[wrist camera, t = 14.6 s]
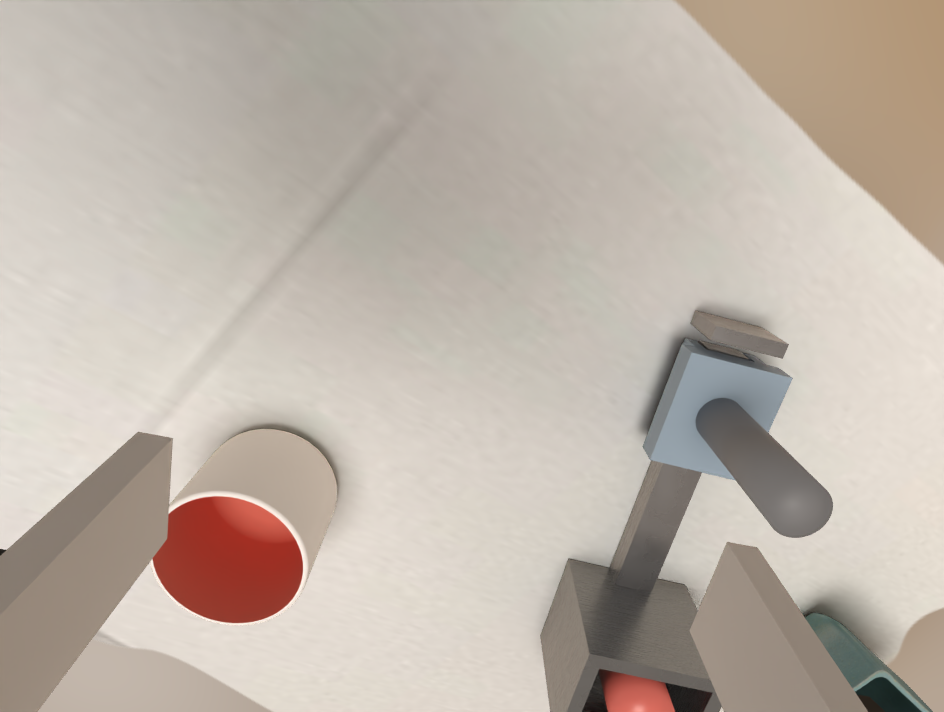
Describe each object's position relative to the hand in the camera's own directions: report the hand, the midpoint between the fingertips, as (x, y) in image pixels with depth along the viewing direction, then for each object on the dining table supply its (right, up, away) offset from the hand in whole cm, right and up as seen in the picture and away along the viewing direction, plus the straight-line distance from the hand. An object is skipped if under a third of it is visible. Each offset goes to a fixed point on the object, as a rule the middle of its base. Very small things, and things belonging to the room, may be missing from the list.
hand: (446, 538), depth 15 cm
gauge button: (+12, -19, +32) cm, 39 cm away
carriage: (+17, +1, +31) cm, 36 cm away
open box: (+12, -17, +37) cm, 43 cm away
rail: (+16, -4, +33) cm, 37 cm away
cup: (-15, -5, +34) cm, 37 cm away
